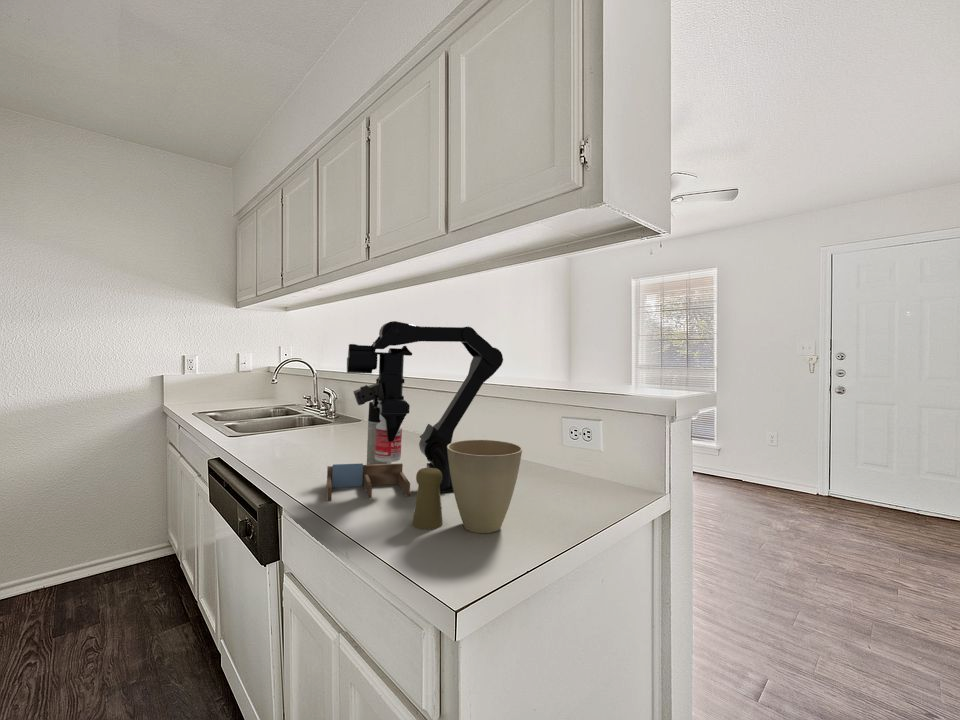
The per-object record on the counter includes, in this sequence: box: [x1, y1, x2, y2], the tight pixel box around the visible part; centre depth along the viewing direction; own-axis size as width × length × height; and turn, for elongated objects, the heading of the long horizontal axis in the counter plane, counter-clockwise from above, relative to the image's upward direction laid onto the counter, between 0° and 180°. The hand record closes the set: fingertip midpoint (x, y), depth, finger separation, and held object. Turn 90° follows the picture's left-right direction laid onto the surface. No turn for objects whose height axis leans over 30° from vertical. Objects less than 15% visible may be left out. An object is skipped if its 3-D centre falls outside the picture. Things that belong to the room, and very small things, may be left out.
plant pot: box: [447, 439, 523, 534], centre depth 91 cm, size 15×15×16 cm
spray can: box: [366, 401, 392, 465], centre depth 126 cm, size 7×7×20 cm
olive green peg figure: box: [411, 467, 443, 530], centre depth 92 cm, size 6×6×11 cm
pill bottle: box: [375, 414, 403, 463], centre depth 111 cm, size 6×6×11 cm
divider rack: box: [326, 463, 411, 502], centre depth 111 cm, size 18×12×6 cm, turn 109°
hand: (388, 438), depth 111 cm, fingers closed on pill bottle, 6 cm apart
